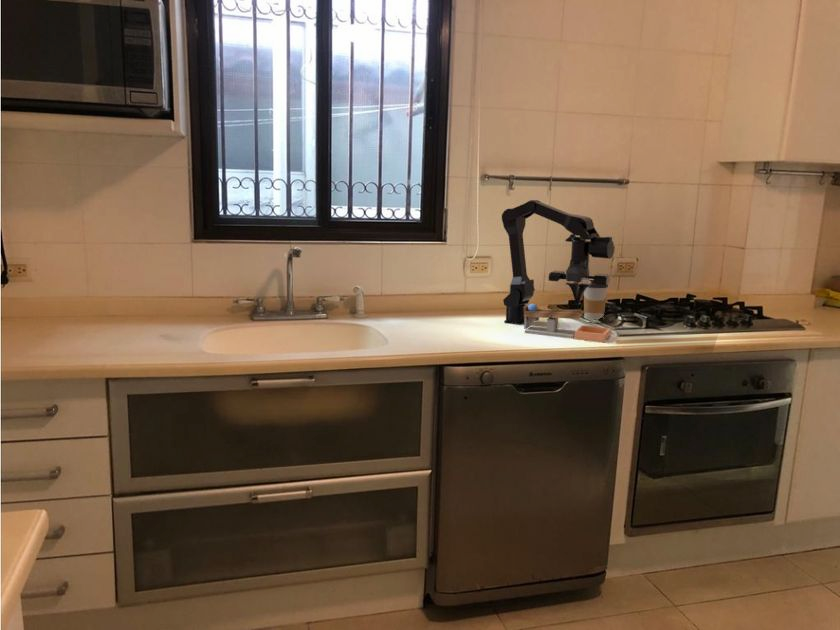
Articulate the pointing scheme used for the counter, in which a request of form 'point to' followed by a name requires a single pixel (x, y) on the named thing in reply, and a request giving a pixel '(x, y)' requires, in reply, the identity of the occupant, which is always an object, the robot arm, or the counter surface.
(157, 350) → the counter surface
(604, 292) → the coffee cup
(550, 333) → the launcher base
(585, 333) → the dish
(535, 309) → the ball
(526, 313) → the lever
